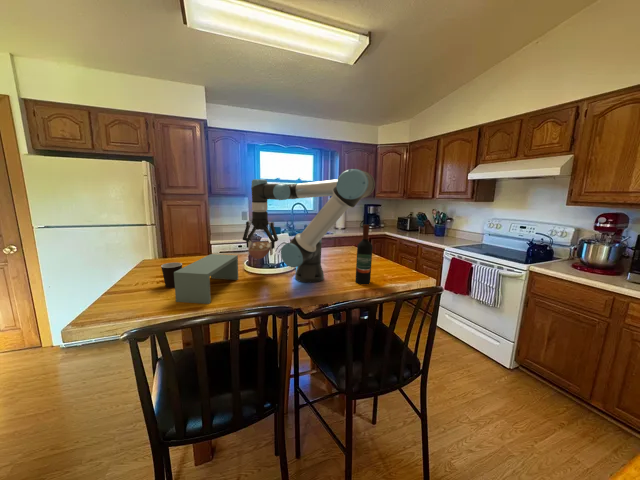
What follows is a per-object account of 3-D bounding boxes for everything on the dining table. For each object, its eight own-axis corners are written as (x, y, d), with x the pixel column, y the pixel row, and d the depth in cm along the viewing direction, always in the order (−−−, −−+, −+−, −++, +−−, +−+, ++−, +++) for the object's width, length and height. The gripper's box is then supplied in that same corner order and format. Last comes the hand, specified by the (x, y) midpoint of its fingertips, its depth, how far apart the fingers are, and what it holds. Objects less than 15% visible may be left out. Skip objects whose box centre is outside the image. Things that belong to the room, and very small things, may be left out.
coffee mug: (174, 289, 123) (173, 268, 121) (158, 287, 124) (156, 266, 123) (191, 281, 134) (190, 261, 132) (176, 279, 136) (174, 260, 134)
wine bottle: (371, 281, 141) (375, 224, 136) (368, 285, 135) (371, 226, 129) (357, 279, 144) (361, 223, 139) (353, 283, 138) (356, 224, 132)
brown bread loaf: (253, 250, 149) (253, 241, 148) (272, 250, 150) (271, 241, 149) (247, 261, 127) (247, 250, 126) (269, 261, 128) (268, 250, 127)
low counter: (238, 278, 139) (237, 255, 137) (209, 303, 109) (207, 274, 107) (212, 277, 140) (211, 253, 138) (175, 301, 110) (173, 272, 108)
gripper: (284, 211, 137) (284, 253, 141) (240, 209, 139) (241, 251, 143) (280, 212, 130) (281, 257, 134) (234, 211, 132) (236, 255, 136)
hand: (260, 254), depth 138 cm, fingers closed on brown bread loaf, 10 cm apart
